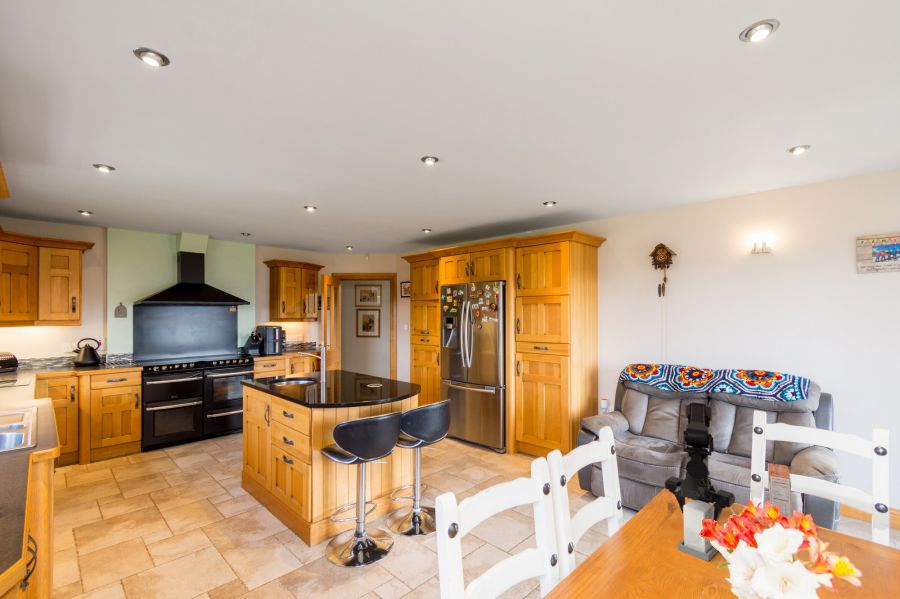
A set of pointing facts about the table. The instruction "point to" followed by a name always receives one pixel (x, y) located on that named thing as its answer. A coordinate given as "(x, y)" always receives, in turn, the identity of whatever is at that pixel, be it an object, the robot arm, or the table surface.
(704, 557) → the tray
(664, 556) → the table surface
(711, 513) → the small box
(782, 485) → the cracker box
